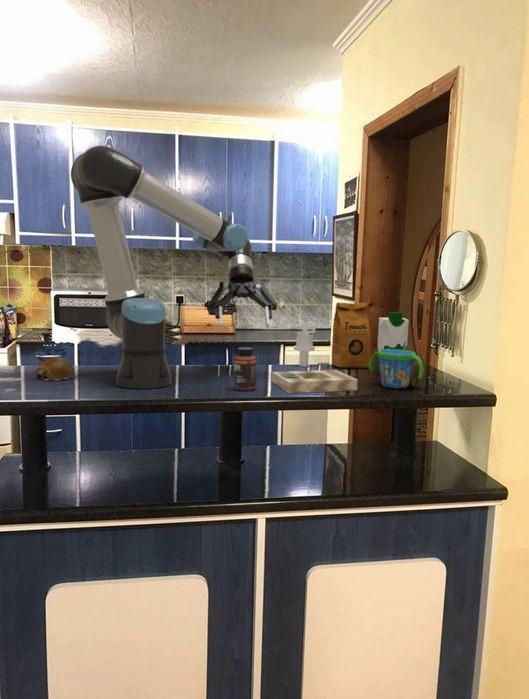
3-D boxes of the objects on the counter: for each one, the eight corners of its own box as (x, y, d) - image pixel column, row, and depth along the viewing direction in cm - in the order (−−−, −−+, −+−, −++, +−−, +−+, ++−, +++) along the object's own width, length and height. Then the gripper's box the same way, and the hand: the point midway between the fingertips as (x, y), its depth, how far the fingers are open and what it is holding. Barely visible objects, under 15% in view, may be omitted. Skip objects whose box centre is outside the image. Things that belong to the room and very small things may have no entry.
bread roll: (70, 392, 163) (81, 367, 164) (34, 380, 159) (46, 353, 159) (65, 386, 172) (76, 361, 173) (31, 373, 167) (43, 348, 168)
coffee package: (372, 369, 190) (375, 303, 187) (336, 369, 189) (338, 303, 186) (363, 364, 200) (366, 301, 197) (328, 364, 199) (331, 301, 195)
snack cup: (428, 388, 163) (431, 353, 161) (410, 394, 155) (412, 356, 153) (380, 380, 173) (382, 346, 171) (361, 385, 165) (363, 350, 164)
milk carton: (380, 377, 178) (383, 312, 175) (373, 371, 187) (376, 310, 184) (408, 377, 178) (411, 313, 175) (400, 372, 187) (403, 311, 184)
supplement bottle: (257, 387, 159) (257, 346, 157) (254, 391, 153) (255, 349, 152) (235, 386, 160) (236, 346, 158) (232, 390, 154) (233, 349, 152)
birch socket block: (288, 393, 152) (288, 381, 152) (271, 382, 166) (272, 370, 166) (357, 390, 158) (357, 378, 157) (335, 379, 172) (335, 368, 172)
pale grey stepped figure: (314, 367, 191) (316, 323, 189) (293, 367, 192) (295, 322, 189) (313, 364, 198) (314, 321, 196) (293, 363, 198) (294, 320, 196)
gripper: (279, 281, 182) (285, 334, 170) (200, 280, 179) (201, 334, 167) (282, 265, 176) (288, 318, 164) (200, 263, 173) (201, 318, 161)
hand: (244, 326), depth 165 cm, fingers open, 13 cm apart
